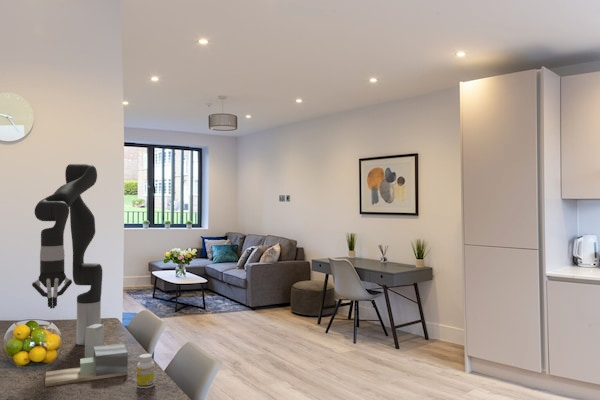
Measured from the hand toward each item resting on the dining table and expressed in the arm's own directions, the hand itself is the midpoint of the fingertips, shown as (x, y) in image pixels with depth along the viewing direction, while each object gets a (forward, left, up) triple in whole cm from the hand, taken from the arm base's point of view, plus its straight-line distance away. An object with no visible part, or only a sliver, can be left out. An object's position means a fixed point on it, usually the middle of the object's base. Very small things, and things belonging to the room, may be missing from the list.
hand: (52, 307), depth 166 cm
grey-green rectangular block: (+9, +15, -21) cm, 28 cm away
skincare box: (-10, +14, -22) cm, 28 cm away
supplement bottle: (+28, +27, -22) cm, 45 cm away
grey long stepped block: (+9, +11, -22) cm, 26 cm away
